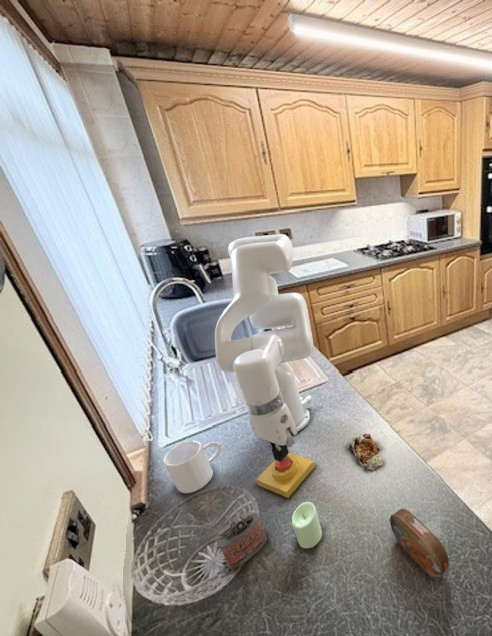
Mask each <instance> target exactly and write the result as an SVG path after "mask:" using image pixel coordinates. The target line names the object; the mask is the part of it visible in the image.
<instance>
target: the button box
mask: <svg viewBox="0 0 492 636" xmlns="http://www.w3.org/2000/svg"><path fill="white" fill-rule="evenodd" d="M287 456H289V457H290V460H291V463H292V465H291V467H290V468H289V469H288V470H286V471H283V472H279V471H278V470H277V468H276V465H275V462H276V460H275V459H274V461H272V463H271V464H270V465H268V467H267V468H265V470H264V471H263V472H262V473H261V474H260V475H259V476H258V477H256V478H255V480H256V484H257V486H259V487H261V488H263V489H265V490H268V491H271V492H272V493H275V494H278V495H280V496H282V497H285V498H286V499H289V498H290V497H291V496H292V494H293V493H295V491H296V490H297V488H299V486H300V485H301V484H302V483H303V481H304V480H305V479H306V478H307V477H308V476H309V474H310V473H311V472H313V470H314V469H315V467H316V465H315V461H314V460H312V459H309V458H307V457H303V456H301V455H298V454H295V453H292V452H290V451H289V453H288V455H287Z"/></svg>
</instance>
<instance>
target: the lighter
mask: <svg viewBox="0 0 492 636" xmlns="http://www.w3.org/2000/svg"><path fill="white" fill-rule="evenodd" d="M217 536H218V539H217V541H216V545H217V547H218V549H220V550H221V553H222V555H223V556H224V559H225V560H226V565H227V567H228V568H229V570H235V569H237V568H239V567H240V566H241V565H243V564H244V563H246V562H248V560H250V559H251V558H253V556H255V554H257V553H258V552H259V551H260V550H261V549H262V548H263V547H264V546H265V545H266V544H267V542H268V537H267V535H266V533H265V532H264V530H263V526H262V524H261V522H260V517H259V514H258V513H257V512H252V513H251V512H250V511H249V510H246V511H244V513H242V514H241V515H236V516H235V517H234V518H233V519H232V521H231V522H230V523H229V524H228V525H226V526H225V527H223V528H222V529H221V530H219V531H218V533H217Z"/></svg>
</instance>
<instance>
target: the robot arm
mask: <svg viewBox="0 0 492 636" xmlns="http://www.w3.org/2000/svg"><path fill="white" fill-rule="evenodd" d="M227 250H228V255H229V258H230V265H231V279H232V292H233V300H232V301H230V302H229V303H228V305H227V306H226V308H224V310H223V311H222V313H221V314H220V315H219V318H218V320H217V322H216V325H215V329H214V347H215V349H214V351H215V359H216V363H217V365H218V367H219V369H220V370H221V371H222V372H224V373H227V374H233V373H234V375H235V378H236V381H237V383H238V386H239V390H240V392H241V395H242V398H243V400H244V403H245V406H246V409H247V415H248V419H249V423H250V426H251V430H252V432H253V434H254V435H255V436H256V437H257V438H259V439H262V440H264V441H265V442H266V444H267V446H268V448H269V449H271V452H272V455H273V458H274V461H275V460H276V461H277V460H278V461H279V462H281V461H282V460H283V459H284V458H285V457H286V456H287V455H288V453H289V452H290V451H289V449H288V448H292V447H293V446H294V445H295V444H296V442H295V440H294V438H293V436H296V435H297V434H298V432H299V431H301V430H303V429H304V428H305V427H306V426H307V425H308V423H309V422H310V420H311V414H310V411H309V410H308V408H307V407H308V404H310V403H311V402H312V401H313V400H314V398H313V396H312V395H310V394H309V395H307V396H306V397H305V398H304V397H303V396H301V395H300V392H299V387H298V384H297V380H296V375H295V372H294V370H293V368H292V367H291V366H290V365H289V363H290V362H294V361H300V360H304V359H308V358H311V356H313V353H314V339H313V333H312V326H311V321H310V316H309V310H308V309H309V308H308V305H307V302H306V299H305V298H304V296H303V295H302V294H301V293H299V292H287V293H279V289H278V283H277V281H276V279H275V278H274V276H272V275H274V274H281V273H287V272H290V271H291V269H292V266H293V259H294V246H293V243H292V240H291V239H290V237H289V236H288V235H287V234H283V233H277V234H268V235H258V236H257V235H255V236H246V237H241V238H238V239H237V238H236V239H234V240H232V241H231V242H229V245H228V247H227ZM247 318H249V321H250V325H251V326H252V328H253V329H256V330H264V331H261V332H258V333H254V334H253V335H251V336H248V337H244V338H237V339H232V336H233V333H234V330H235V329H236V328H237V326H238V325H239V324H240V323H241V322H243V321H244V320H245V319H247ZM289 326H290V327H289ZM283 327H285V328H283ZM270 329H271V330H270ZM265 330H266V331H265Z"/></svg>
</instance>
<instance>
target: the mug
mask: <svg viewBox="0 0 492 636" xmlns="http://www.w3.org/2000/svg"><path fill="white" fill-rule="evenodd" d="M211 447H215V448H216V450H215V452H214V454H213V455H212V456H211V457H210V458H209V459H208V456H207V454H206V452H205V450H207V449H208V448H211ZM221 451H222V444H221V443H220V442H217V441H210V442H208V443H206V444H205V445H203V444H202V443H201V442H200V441H199V440H187V441H184V442H180V443H178V444H176V445H175V446H174V447H172V448H171V449H170V450H169V451H168V452H167V453H166V454H165V456H164V457H163V459H162V461H163V464H164V466H165V468H166V470H167V472H168V474H169V476H170V478H171V480H172V482H173V484H174V486H175V488H176V490H177V491H178V492H180V493H182V494H191V493H194V492H197V491H198V490H200V489H202V488H204V487H205V486H207V484H208V483H209V482H210V481H211V480H212V478H213V475H214V470H213V468H212V465H211V463H212V462H214V461H216V459H217V458H218V457H219V456H220V453H221Z"/></svg>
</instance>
